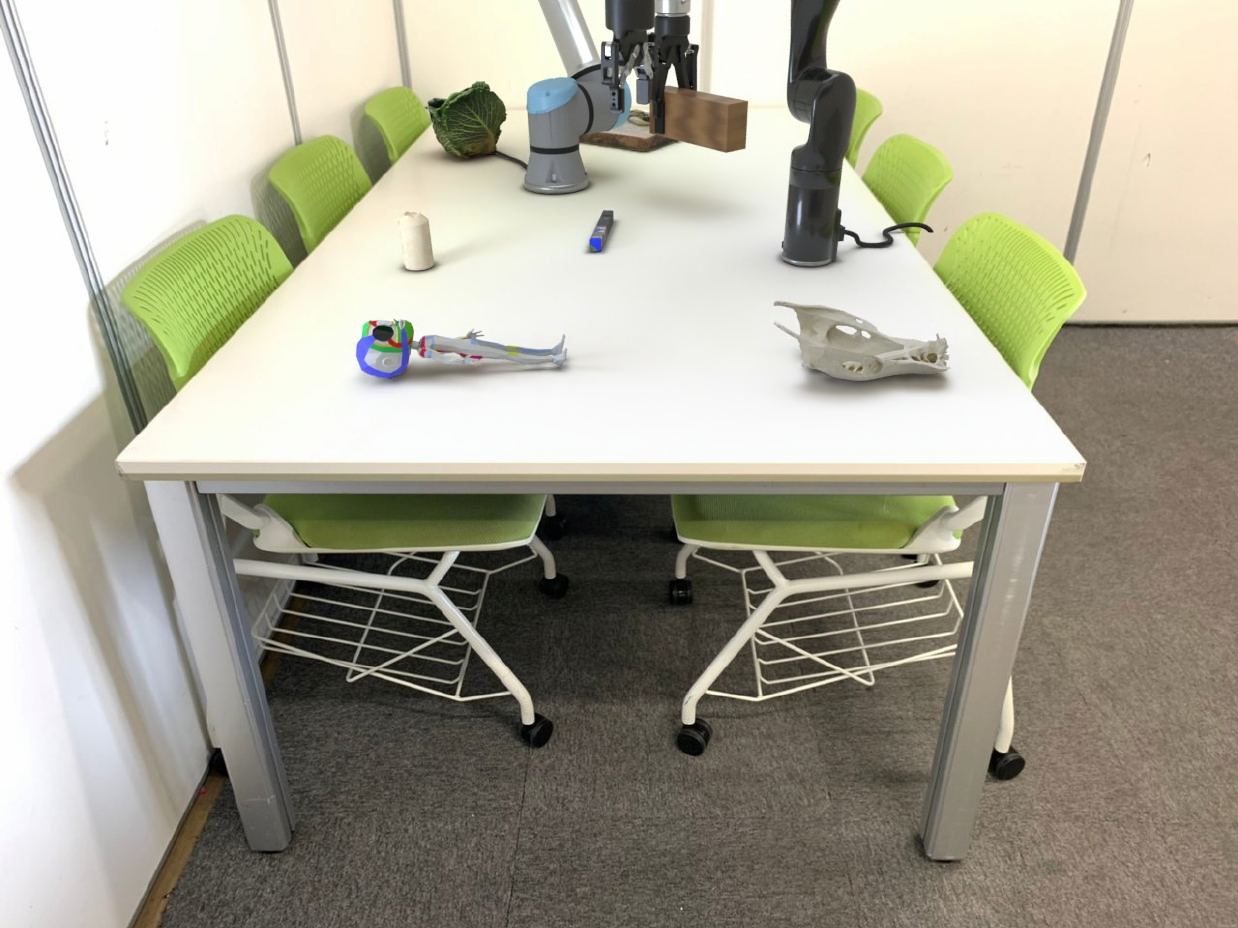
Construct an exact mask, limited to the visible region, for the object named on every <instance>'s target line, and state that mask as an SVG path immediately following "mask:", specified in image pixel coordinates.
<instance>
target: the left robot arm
mask: <svg viewBox="0 0 1238 928" xmlns="http://www.w3.org/2000/svg"><path fill="white" fill-rule="evenodd" d="M537 1H538V4H539V7H540V9H541V11H542V14H543V16H544V19H545V22H546V24H547V27H548V28H549V31H550V34H551V36H552V40H553V42H554V44H555V47H556V49H557V52H558V55H559V56H560V59H561V62H562V64H563V67H564V70H565V73H566V76H559V77H558V76H557V77H555V78H553V77H551V78H545V79H542V80H539V81H536V82H535V83H533V84H532V85H530V86H529V87H528V89H527V91H526V105H525V106H526V107H525V108H526V109H525V110H526V112H527V125H528V126H527V127H528V140H529V141H528V142H529V157H528V162H527V163H526V162H525V161H523V160H521V159H519V158H516V157H513V156H511V155H509V154H506V153H503V152H501V151H499V150H498V149H497V150H496V151H495V155H498V156H500V157H503V158H504V159H507V160H509V161H512V162H515V163H517V164H520V165H521V166H522V167H524V168H525V169H526V172H525V175H524V178H523V183H524V188H525V189H526V190H527V191H530V192H531V193H535V194H536V193H537V194H543V195H544V194H545V195H562V194H570V193H576V192H579V191H583V190H584V189H586V188H587V187H589V175H588V173H587V171H586V168H585V164H584V161H583V158H582V156H581V153H580V141H579V136H582V135H587V134H592V133H598V132H603V131H610V130H612V129H615V128H618V127H620V126H622V125H623V124H624V123H625V122H626V121H627V119H628V117H629V114H630V110H631V109H632V103H633V102H632V101H633V100H632V99H633V98H632V92H631V88H630V86H629V83H628V81H626V82H625V85H624V90H625V112H624V113H623V114H612V113H611V112H610V89H609V87H607V86H606V85H602V84H601V56H600V55H599V53H598V50H597V48H596V45H595V42H594V39H593V37H592V34H591V32H590V29H589V27H588V24H587V22H586V19H585V16H584V14H583V12H582V9H581V7H580V4H579V1H578V0H537ZM691 1H692V0H655V14H656V15H655V26H654V28H653V32H657V34H658V72H657V73H653V77H652V79H650V101H652V103H653V109H652V115H653V117H654V118H655V133H659V134H665V102H662V99H663V95H664V90H665V86H667V80H668V75H669V71H670V69H671V68H672V66H673V68H674V73H675V78H676V83H677V87H679V88H684V89H689V90H694V91H698V54H699V51H700V45H699V44H697V43H691V42H690V41H689V36H690V34H691V16H690V15H689V13H690V12H691V3H692V2H691ZM650 58H651V61H652V57H650ZM651 64H652V63H651ZM609 73H610V70H609V69H608V68H607V76H608V77H609ZM619 78H620V75H619ZM657 95H658V96H657Z"/></svg>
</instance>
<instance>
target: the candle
mask: <svg viewBox="0 0 1238 928" xmlns="http://www.w3.org/2000/svg"><path fill="white" fill-rule="evenodd" d="M397 224H398V232H399V238H400V244H401V251H402V257H403V258H402V259H403V264H404V267H405V269H407V270H410V271H422V270H423V271H424V270H427V269H431V268H432V267H433V266H434V265H435V259H434V252H433V250H434V249H433V244H432V236H431V228H430V227H431V226H430V220H429V218H428V217H427V216H425V215H424V214H423V213H421V212H414V211H405V213H403V214H402V215H401V217H400V218H399V220H398V221H397Z"/></svg>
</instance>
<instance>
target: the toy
mask: <svg viewBox="0 0 1238 928" xmlns="http://www.w3.org/2000/svg"><path fill="white" fill-rule="evenodd" d="M474 331H475V328H472V329H471V330H469V331H468V332H467V333H466V334H465V335H463V336H458V337H449V336H448V337H447V336H442V335H439V334H428V335H423V336H421V338H420V339H419V341H417V340H414V336H415V329H414V326H413V324H412V322H410V321H408V320H407V319H399V320H397V319H395V318H392V320H387V319H379V320H368V321H367V322H365V323H364V324H362V326H361V329H360V331H359V333H358V334H357V338H356V340H355V342H354V354H353V355H354V357H355V359H356V362H357V364H358V366H359V369H360V370H361V372H364V373H366V374H367V375H370V376H373V377H377V378H382V379H383V378H384V379H392V378H394V377H396V376H398V375H400V374H401V375H402V374H403V372H404V371H405V370H406V368H407V367H408V366H409V364H410V357H411V355H412V350H415V351H417V353H418V356H419V357H421V358H422V359H430V360H434V361H438V362H442V363H444V364H449V365H458V364H459V365H461V364H465V365H471V366H477V367H479V368H480V367H481V366H482V365H483V363H482V362H478V361H480V360H482V359H487V360H488V359H489V360H503V361H509V362H514V363H517V364H520V365H528V366H529V365H542V364H550V363H553V364H555V365H557V366H559V367H562V366H563V364H564V362H565V361H566V360H567V357H568V355H567V353H568V348H566V347H565V348H564V345H565V340H566V334H565V333H563V334H562V338H561V340H560V341H559V343H558V344H556V345H555V346H554V347H552V348H533V347H532V348H531V347H523V346H518V345H517V346H516V345H504V344H501V343H498V342H494V341H488V340H482V339H478V338H479V337H480V338H481V337H485V334H480V333H482V332H483V331H482V330H479V331H476V332H474ZM563 349H564V350H563ZM453 353H455V354H457V355H459V357H458V356H455V355H448V354H453ZM445 354H447V355H445Z"/></svg>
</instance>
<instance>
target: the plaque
mask: <svg viewBox="0 0 1238 928" xmlns="http://www.w3.org/2000/svg"><path fill="white" fill-rule="evenodd" d="M580 142H581V143H586V144H593V145H597V146H598V145H599V146H607V147H612V148H620V149H625V150H632V151H640V152H648V151H654V150H656V149H659V148H662V147H663V146H664V147H665V146H667V145H670V144H672V143H676V142H679V141H678V140H674V139H670V138H667V137H663V136H659V135H655V134H651V133H649V111H644V110H642V109H637V108H636V109H635V108H634V109H630V114H629V117H628V119H627V121H626V122H625V123H624V124H623V125H622V126H620V127H618V128H615V129H612V130H610V131H603V132H598V133H592V134H587V135H582V136H579V143H580Z"/></svg>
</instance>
